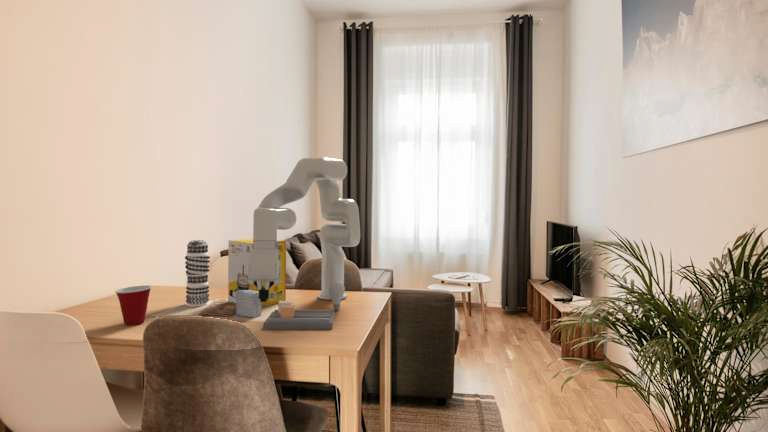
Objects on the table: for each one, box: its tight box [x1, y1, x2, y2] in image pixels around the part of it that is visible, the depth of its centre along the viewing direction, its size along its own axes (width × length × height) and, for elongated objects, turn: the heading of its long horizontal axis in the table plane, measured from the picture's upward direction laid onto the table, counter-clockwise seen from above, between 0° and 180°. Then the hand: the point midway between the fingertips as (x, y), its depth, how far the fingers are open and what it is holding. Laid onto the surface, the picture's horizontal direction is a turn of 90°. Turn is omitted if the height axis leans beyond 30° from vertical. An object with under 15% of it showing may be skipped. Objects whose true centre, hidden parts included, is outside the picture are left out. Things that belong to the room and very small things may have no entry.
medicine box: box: [235, 290, 262, 318], centre depth 165 cm, size 8×4×9 cm, turn 65°
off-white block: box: [277, 300, 292, 313], centre depth 159 cm, size 3×4×4 cm
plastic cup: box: [114, 285, 152, 326], centre depth 152 cm, size 11×11×12 cm
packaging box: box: [227, 238, 287, 307], centre depth 186 cm, size 16×16×25 cm
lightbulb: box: [329, 281, 346, 311], centre depth 174 cm, size 6×6×11 cm
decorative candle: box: [184, 239, 211, 308], centre depth 180 cm, size 9×9×25 cm
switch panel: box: [263, 309, 336, 330], centre depth 156 cm, size 15×22×3 cm
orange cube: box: [281, 305, 295, 318], centre depth 152 cm, size 3×4×4 cm
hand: (263, 301), depth 151 cm, fingers closed
